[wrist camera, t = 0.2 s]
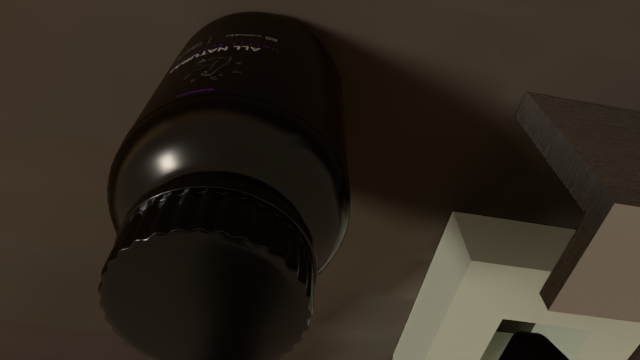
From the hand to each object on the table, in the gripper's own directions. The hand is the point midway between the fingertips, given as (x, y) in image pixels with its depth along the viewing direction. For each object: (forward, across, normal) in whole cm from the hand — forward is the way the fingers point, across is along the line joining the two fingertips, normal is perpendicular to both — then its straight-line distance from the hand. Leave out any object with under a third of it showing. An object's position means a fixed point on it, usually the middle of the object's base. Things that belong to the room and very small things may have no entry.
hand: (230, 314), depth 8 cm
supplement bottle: (+15, 0, +3) cm, 15 cm away
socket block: (+14, -14, +13) cm, 24 cm away
